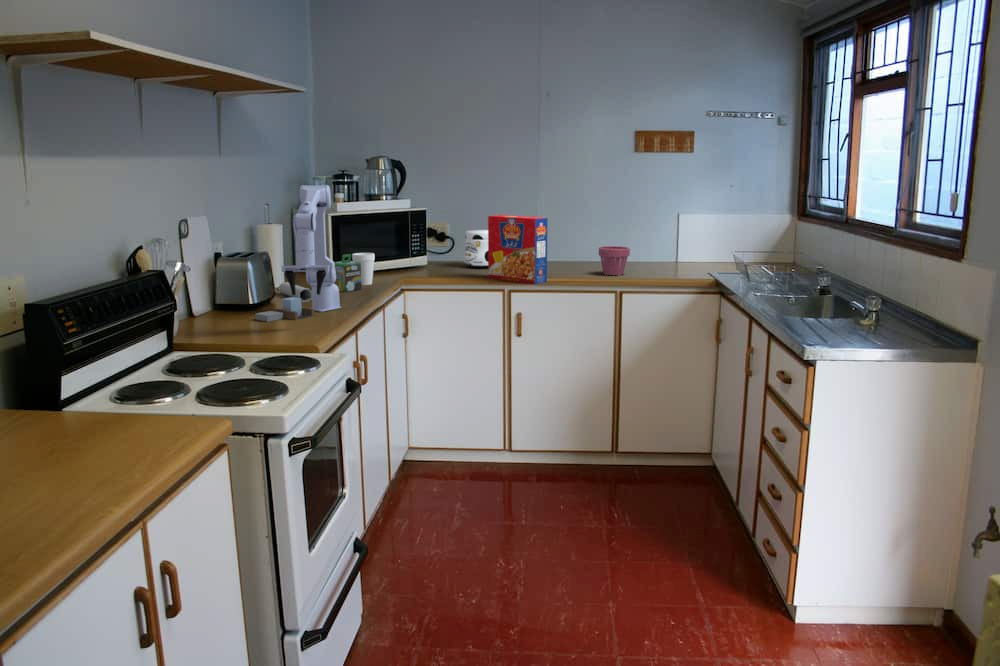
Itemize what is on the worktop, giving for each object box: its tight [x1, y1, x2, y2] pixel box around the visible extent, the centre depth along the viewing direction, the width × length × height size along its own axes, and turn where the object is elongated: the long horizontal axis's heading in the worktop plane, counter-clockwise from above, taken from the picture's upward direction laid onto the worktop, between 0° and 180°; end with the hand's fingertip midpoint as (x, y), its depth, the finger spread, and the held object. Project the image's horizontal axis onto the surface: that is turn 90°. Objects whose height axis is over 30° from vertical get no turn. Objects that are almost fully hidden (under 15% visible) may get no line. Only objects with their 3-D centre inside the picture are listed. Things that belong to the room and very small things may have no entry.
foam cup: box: [351, 252, 376, 286], centre depth 342 cm, size 10×9×13 cm
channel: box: [275, 306, 316, 320], centre depth 271 cm, size 8×10×2 cm
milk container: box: [463, 229, 488, 269], centre depth 395 cm, size 17×17×18 cm
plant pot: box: [598, 245, 631, 276], centre depth 368 cm, size 14×14×13 cm
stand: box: [254, 310, 284, 323], centre depth 266 cm, size 6×6×2 cm
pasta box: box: [487, 214, 549, 285], centre depth 351 cm, size 28×8×28 cm, turn 46°
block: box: [281, 296, 303, 316], centre depth 271 cm, size 4×4×6 cm
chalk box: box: [333, 253, 363, 293], centre depth 325 cm, size 9×9×15 cm
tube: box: [278, 281, 312, 303], centre depth 310 cm, size 5×5×25 cm
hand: (306, 294), depth 250 cm, fingers open, 7 cm apart
